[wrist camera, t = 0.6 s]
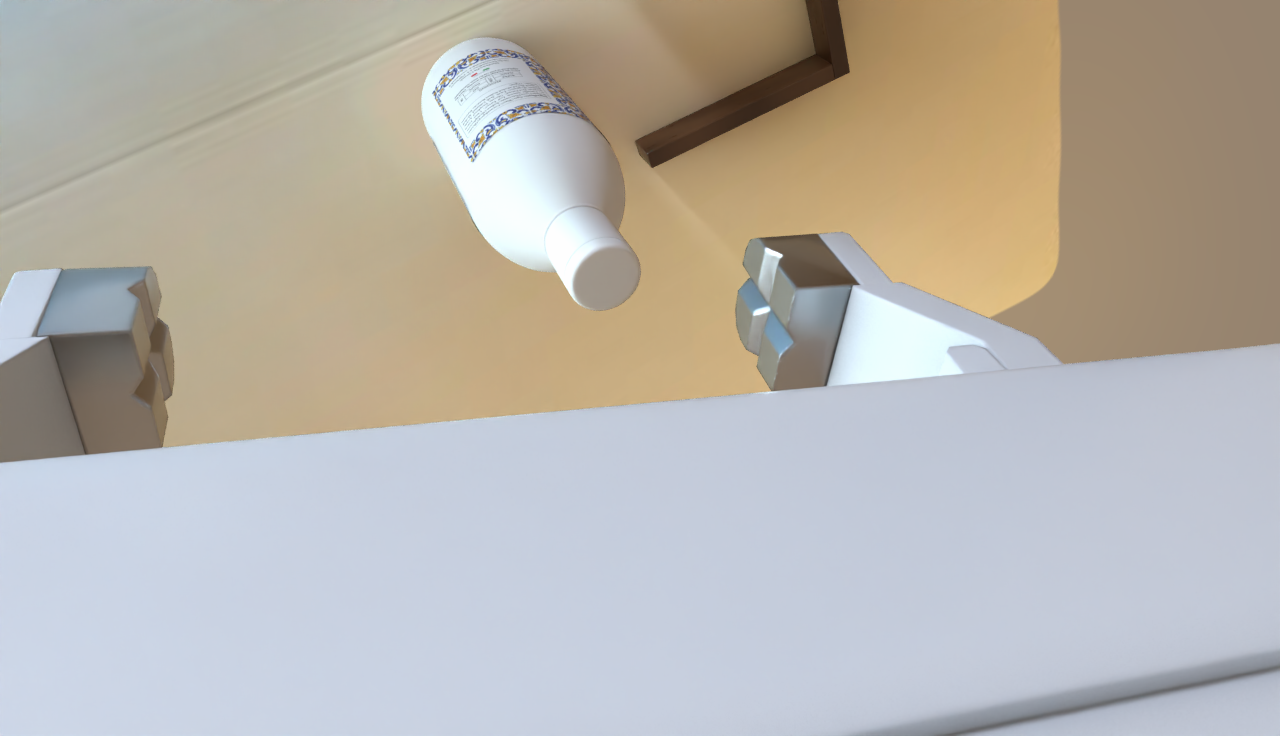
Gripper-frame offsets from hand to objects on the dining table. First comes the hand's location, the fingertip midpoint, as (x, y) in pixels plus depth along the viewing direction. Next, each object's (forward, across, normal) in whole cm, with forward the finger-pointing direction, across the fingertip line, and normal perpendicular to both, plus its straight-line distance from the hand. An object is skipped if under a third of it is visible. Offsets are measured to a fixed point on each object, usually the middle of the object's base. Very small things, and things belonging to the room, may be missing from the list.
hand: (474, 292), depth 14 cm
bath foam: (+39, -6, +12) cm, 41 cm away
